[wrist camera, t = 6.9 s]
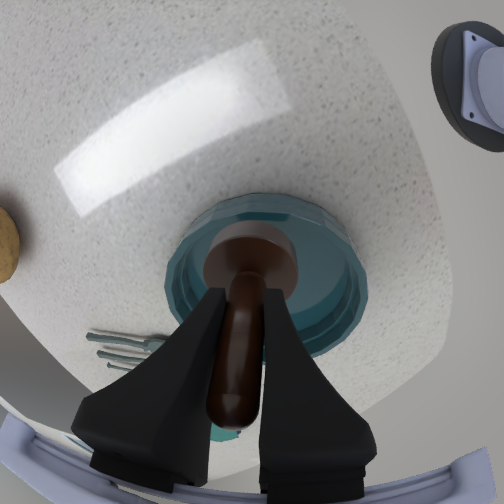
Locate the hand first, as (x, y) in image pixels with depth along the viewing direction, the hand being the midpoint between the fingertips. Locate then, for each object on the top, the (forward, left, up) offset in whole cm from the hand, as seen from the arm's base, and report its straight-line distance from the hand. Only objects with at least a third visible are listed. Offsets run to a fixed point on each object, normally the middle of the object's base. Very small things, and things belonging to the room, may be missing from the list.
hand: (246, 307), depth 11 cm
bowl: (0, +7, -10) cm, 12 cm away
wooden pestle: (0, 0, -3) cm, 3 cm away
